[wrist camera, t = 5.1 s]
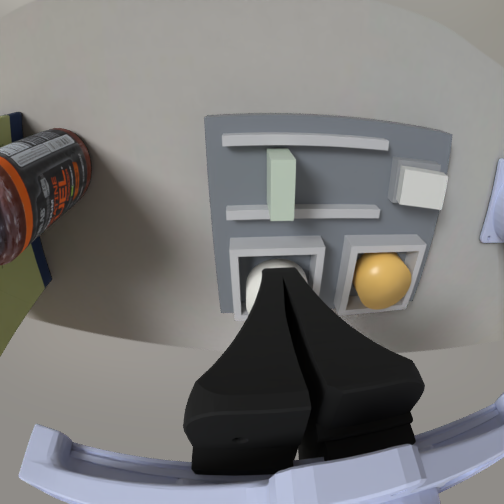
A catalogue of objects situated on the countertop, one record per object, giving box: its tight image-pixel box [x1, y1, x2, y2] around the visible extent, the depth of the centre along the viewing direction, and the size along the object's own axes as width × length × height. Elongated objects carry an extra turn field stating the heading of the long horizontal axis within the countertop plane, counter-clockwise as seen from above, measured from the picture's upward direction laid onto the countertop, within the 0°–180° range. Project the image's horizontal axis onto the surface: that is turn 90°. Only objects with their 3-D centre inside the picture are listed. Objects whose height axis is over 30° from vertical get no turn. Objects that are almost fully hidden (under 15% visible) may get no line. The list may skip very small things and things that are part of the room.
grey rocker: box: [396, 165, 448, 210], centre depth 15 cm, size 3×2×1 cm
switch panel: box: [204, 113, 452, 321], centre depth 19 cm, size 16×14×3 cm
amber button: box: [352, 252, 411, 310], centre depth 20 cm, size 4×4×2 cm
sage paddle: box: [267, 148, 296, 221], centre depth 15 cm, size 1×3×3 cm, turn 1°
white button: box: [246, 259, 308, 314], centre depth 19 cm, size 4×4×2 cm
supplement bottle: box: [0, 128, 91, 265], centre depth 12 cm, size 6×6×11 cm
